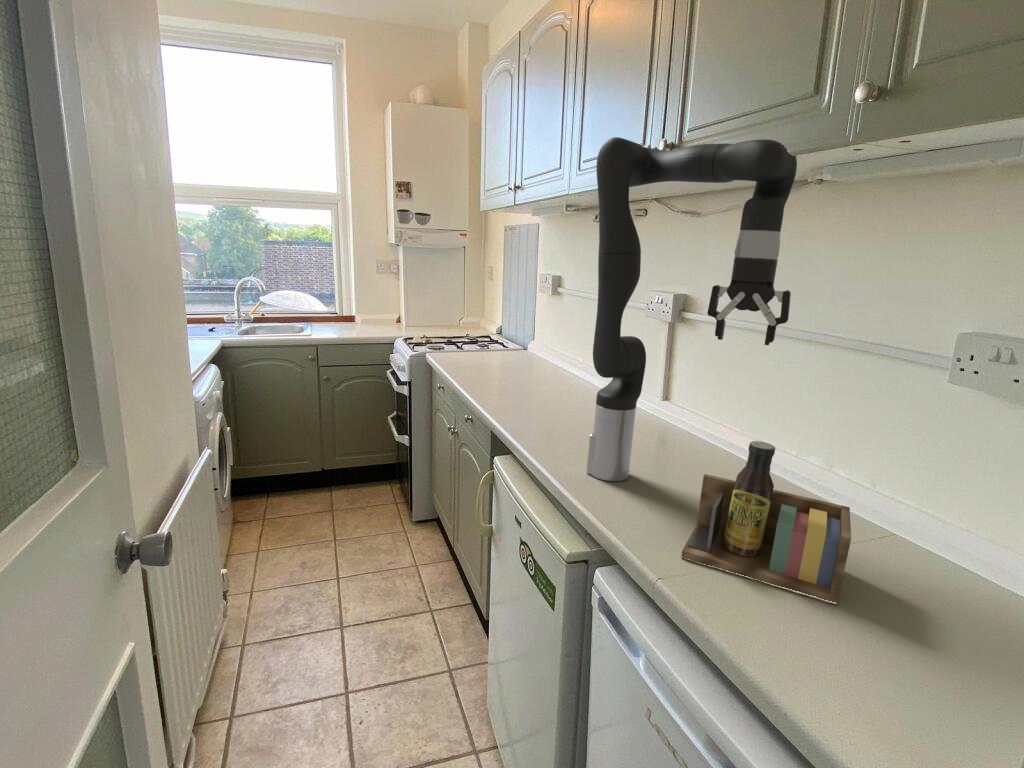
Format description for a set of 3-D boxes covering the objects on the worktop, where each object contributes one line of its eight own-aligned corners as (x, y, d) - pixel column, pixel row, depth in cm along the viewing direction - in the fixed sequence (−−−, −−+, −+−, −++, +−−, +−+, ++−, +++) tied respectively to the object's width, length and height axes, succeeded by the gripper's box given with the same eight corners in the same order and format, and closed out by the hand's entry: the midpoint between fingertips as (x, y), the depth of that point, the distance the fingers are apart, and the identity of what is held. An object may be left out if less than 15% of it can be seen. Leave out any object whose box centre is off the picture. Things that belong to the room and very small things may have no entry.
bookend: (687, 546, 100) (693, 502, 98) (698, 526, 108) (704, 485, 106) (709, 552, 98) (716, 508, 96) (718, 532, 106) (725, 490, 104)
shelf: (681, 558, 99) (689, 497, 96) (696, 528, 110) (704, 474, 107) (836, 605, 88) (851, 538, 85) (836, 567, 99) (849, 507, 96)
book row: (768, 570, 94) (777, 520, 92) (774, 547, 101) (782, 501, 99) (830, 588, 89) (840, 536, 87) (830, 562, 97) (840, 515, 95)
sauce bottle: (718, 550, 99) (734, 443, 95) (727, 537, 104) (743, 435, 100) (757, 563, 96) (776, 453, 91) (765, 548, 101) (783, 443, 96)
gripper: (799, 258, 105) (784, 344, 109) (720, 254, 112) (708, 335, 116) (796, 258, 99) (781, 349, 103) (712, 254, 105) (701, 339, 109)
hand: (743, 342), depth 109 cm, fingers open, 8 cm apart
